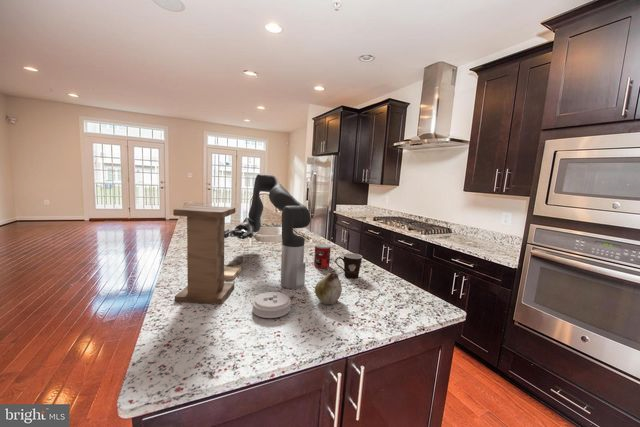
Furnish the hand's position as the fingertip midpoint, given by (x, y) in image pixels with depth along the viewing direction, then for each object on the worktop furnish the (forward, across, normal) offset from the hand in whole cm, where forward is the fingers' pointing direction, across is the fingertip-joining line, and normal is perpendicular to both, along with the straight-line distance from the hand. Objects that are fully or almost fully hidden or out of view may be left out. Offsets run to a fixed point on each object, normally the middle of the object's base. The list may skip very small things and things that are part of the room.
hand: (234, 236), depth 129 cm
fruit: (+32, +45, +15) cm, 57 cm away
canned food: (-9, +43, +15) cm, 46 cm away
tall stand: (+31, 0, +15) cm, 35 cm away
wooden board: (+3, 0, +15) cm, 15 cm away
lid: (+40, +26, +15) cm, 50 cm away
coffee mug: (+3, +55, +15) cm, 58 cm away
